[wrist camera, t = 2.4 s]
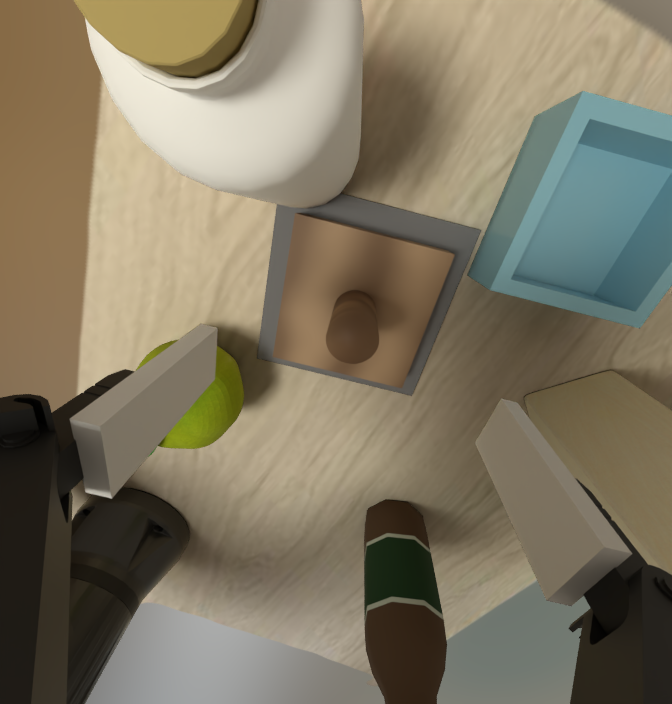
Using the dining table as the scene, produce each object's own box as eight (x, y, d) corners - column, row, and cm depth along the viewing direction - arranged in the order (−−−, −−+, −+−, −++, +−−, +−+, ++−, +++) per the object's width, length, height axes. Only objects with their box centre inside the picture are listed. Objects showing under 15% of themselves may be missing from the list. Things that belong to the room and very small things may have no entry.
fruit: (155, 369, 32) (75, 432, 23) (197, 306, 29) (122, 352, 20) (228, 418, 34) (180, 493, 25) (275, 365, 31) (239, 430, 22)
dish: (467, 275, 25) (489, 290, 21) (535, 116, 21) (583, 90, 16) (591, 307, 26) (639, 328, 21) (686, 157, 21) (775, 144, 16)
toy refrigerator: (534, 448, 33) (770, 781, 14) (520, 395, 30) (787, 718, 11) (618, 426, 31) (1029, 781, 12) (611, 368, 28) (1126, 704, 9)
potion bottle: (255, 59, 20) (-183, -636, 4) (374, 92, 21) (439, -433, 4) (242, 194, 24) (-26, 129, 7) (345, 221, 24) (314, 217, 7)
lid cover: (279, 345, 29) (250, 394, 22) (301, 212, 24) (272, 215, 16) (399, 374, 30) (411, 433, 22) (446, 249, 24) (484, 270, 17)
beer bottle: (415, 492, 37) (489, 895, 15) (429, 532, 40) (507, 917, 18) (355, 503, 39) (344, 879, 17) (372, 540, 42) (383, 901, 20)
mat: (257, 356, 30) (256, 358, 30) (281, 178, 23) (280, 177, 23) (411, 394, 31) (411, 395, 31) (479, 229, 24) (481, 230, 24)
